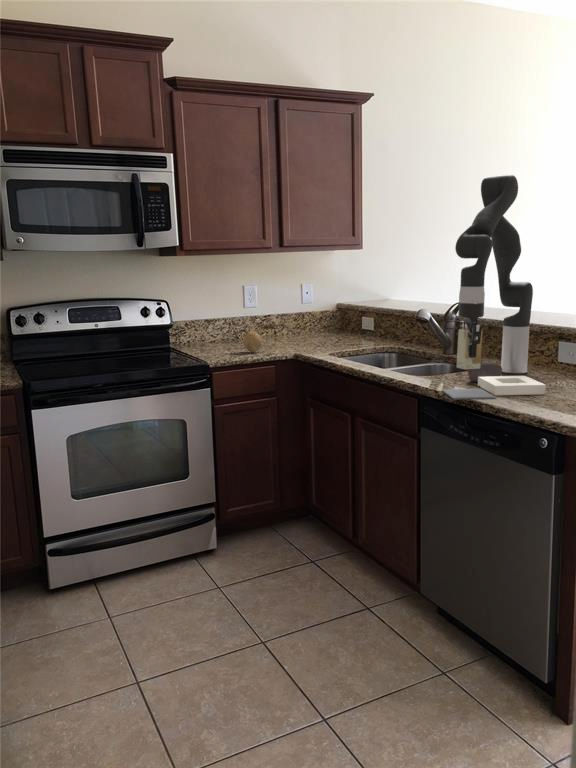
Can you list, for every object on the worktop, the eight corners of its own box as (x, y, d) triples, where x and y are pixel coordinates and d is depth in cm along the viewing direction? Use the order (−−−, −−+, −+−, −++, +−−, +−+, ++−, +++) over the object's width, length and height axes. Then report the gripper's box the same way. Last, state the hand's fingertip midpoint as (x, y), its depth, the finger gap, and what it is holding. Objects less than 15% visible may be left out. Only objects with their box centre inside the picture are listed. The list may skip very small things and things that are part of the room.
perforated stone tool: (496, 378, 233) (497, 358, 231) (506, 380, 228) (507, 360, 227) (461, 381, 227) (462, 361, 226) (471, 384, 222) (472, 364, 221)
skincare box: (464, 370, 201) (466, 330, 198) (455, 368, 204) (457, 329, 202) (481, 368, 203) (483, 329, 201) (472, 366, 207) (474, 328, 205)
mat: (441, 391, 211) (441, 389, 211) (480, 390, 212) (481, 388, 212) (453, 399, 199) (453, 398, 199) (495, 398, 199) (495, 396, 199)
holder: (477, 385, 219) (478, 376, 219) (524, 384, 220) (524, 375, 220) (494, 395, 204) (495, 385, 203) (545, 394, 205) (545, 384, 204)
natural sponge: (238, 352, 302) (238, 331, 301) (253, 350, 308) (253, 329, 306) (250, 354, 296) (250, 332, 294) (265, 352, 301) (265, 331, 300)
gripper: (452, 300, 207) (450, 352, 210) (467, 303, 193) (464, 359, 196) (475, 299, 207) (473, 352, 210) (492, 302, 193) (489, 359, 196)
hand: (469, 355), depth 203 cm, fingers closed on skincare box, 5 cm apart
